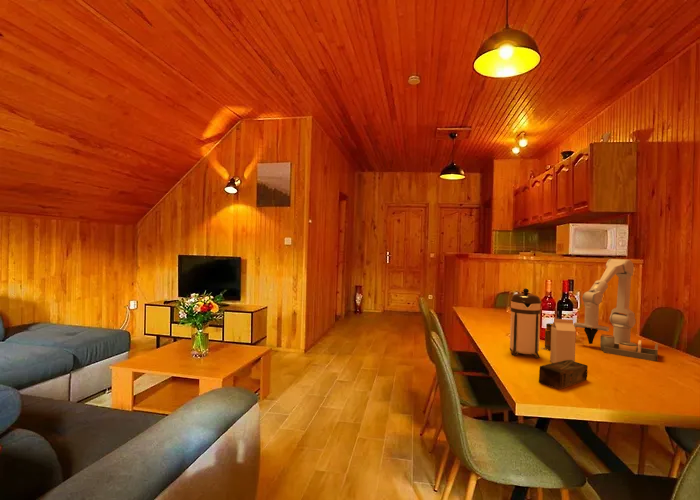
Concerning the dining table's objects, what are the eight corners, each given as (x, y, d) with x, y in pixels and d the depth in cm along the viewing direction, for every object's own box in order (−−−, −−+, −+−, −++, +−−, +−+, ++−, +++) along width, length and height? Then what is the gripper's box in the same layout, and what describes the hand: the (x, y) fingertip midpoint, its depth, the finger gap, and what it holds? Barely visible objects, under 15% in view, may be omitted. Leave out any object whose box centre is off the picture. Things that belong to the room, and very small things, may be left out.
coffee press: (552, 357, 167) (554, 289, 166) (524, 360, 161) (526, 290, 160) (521, 347, 183) (522, 285, 182) (495, 349, 177) (497, 286, 176)
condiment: (547, 346, 185) (548, 322, 185) (566, 350, 179) (566, 325, 179) (540, 348, 181) (541, 324, 181) (559, 353, 174) (560, 327, 174)
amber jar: (619, 350, 181) (619, 340, 181) (636, 353, 177) (637, 343, 176) (617, 353, 176) (618, 343, 176) (636, 356, 171) (636, 345, 171)
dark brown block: (588, 381, 138) (589, 363, 138) (559, 391, 128) (560, 371, 128) (566, 374, 145) (567, 357, 145) (537, 383, 135) (537, 365, 134)
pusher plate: (638, 352, 178) (638, 339, 178) (641, 352, 177) (641, 340, 177) (637, 356, 170) (637, 344, 170) (640, 357, 169) (640, 344, 169)
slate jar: (601, 348, 185) (601, 333, 185) (615, 350, 181) (615, 335, 181) (599, 350, 181) (599, 335, 181) (613, 352, 177) (614, 337, 177)
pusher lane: (606, 347, 187) (607, 337, 187) (657, 355, 174) (657, 344, 174) (603, 352, 177) (604, 341, 177) (657, 361, 164) (657, 350, 164)
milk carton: (574, 368, 152) (576, 321, 152) (555, 366, 154) (557, 320, 153) (568, 362, 159) (569, 318, 159) (550, 361, 160) (551, 317, 160)
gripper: (573, 315, 187) (572, 342, 187) (608, 319, 178) (607, 347, 178) (575, 313, 192) (574, 339, 192) (609, 317, 183) (609, 345, 183)
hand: (590, 343), depth 185 cm, fingers closed
